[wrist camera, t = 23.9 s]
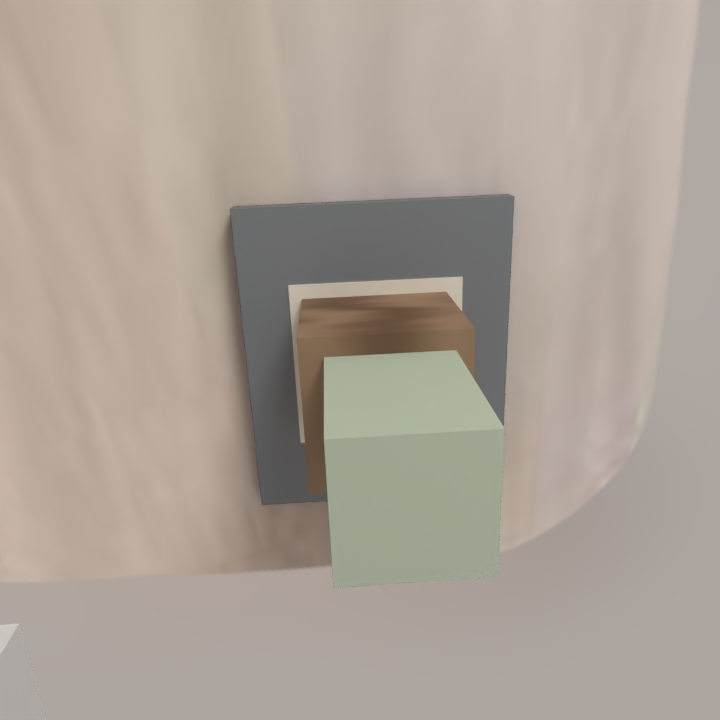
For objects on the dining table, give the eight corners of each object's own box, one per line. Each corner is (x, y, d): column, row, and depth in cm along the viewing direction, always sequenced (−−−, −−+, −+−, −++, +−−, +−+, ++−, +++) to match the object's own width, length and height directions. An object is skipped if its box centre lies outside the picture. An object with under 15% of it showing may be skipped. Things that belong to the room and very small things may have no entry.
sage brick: (331, 474, 30) (333, 588, 22) (323, 357, 28) (324, 439, 20) (454, 466, 30) (497, 576, 23) (456, 350, 28) (504, 428, 20)
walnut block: (311, 430, 37) (308, 494, 30) (301, 299, 34) (296, 338, 27) (445, 421, 37) (471, 483, 30) (446, 291, 34) (475, 328, 28)
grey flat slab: (263, 494, 39) (261, 505, 38) (233, 206, 33) (229, 209, 32) (495, 480, 40) (500, 490, 39) (508, 194, 34) (514, 196, 33)
